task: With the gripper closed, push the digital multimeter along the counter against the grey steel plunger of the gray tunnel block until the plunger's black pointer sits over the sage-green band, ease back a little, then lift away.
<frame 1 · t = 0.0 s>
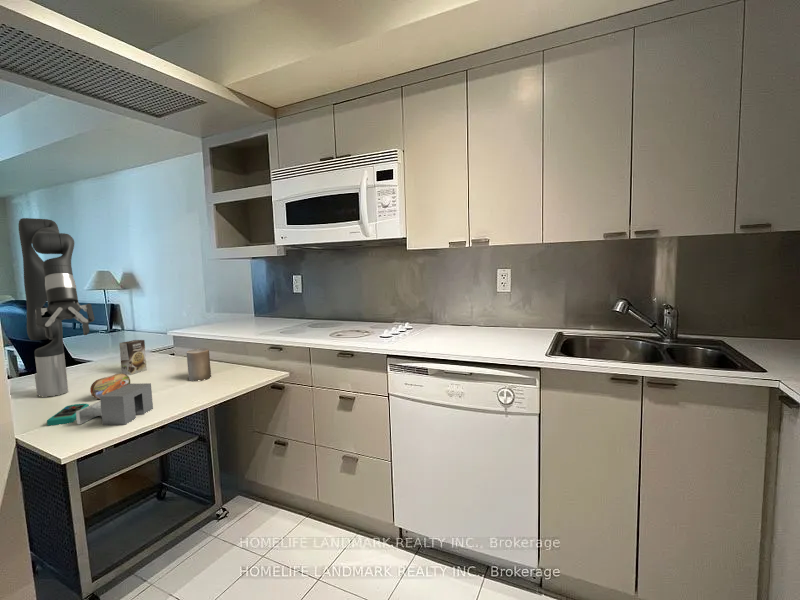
hand: (68, 336, 124), 31 cm above the countertop, tool tilted 20°, fingers open, 8 cm apart
gray tunnel block: (129, 416, 138), on the countertop
digital multimeter: (69, 418, 139), on the countertop
food box: (134, 372, 197), on the countertop
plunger: (118, 406, 141), point 2 cm above the countertop, slide at 0.0 cm
pillar candle: (199, 378, 183), on the countertop
tin: (111, 395, 161), on the countertop
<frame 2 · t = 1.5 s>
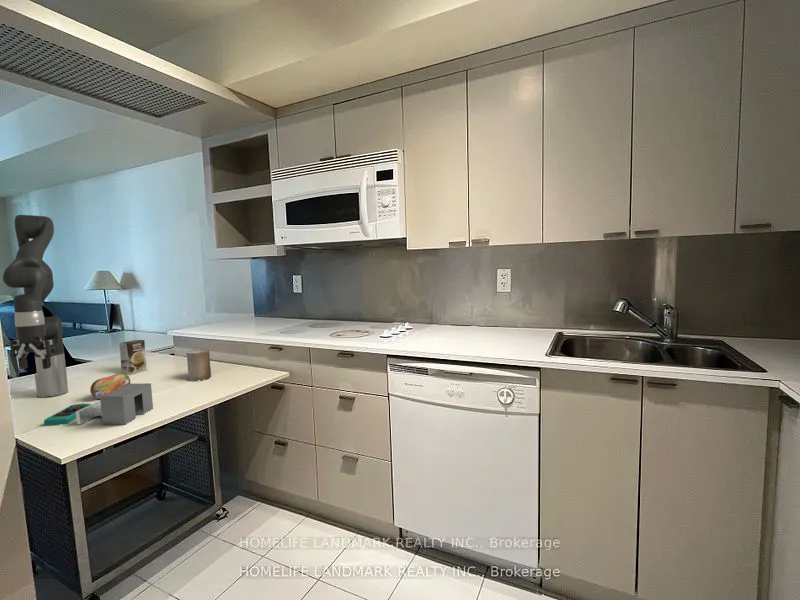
hand: (35, 368, 137), 18 cm above the countertop, tool pointing down, fingers open, 8 cm apart
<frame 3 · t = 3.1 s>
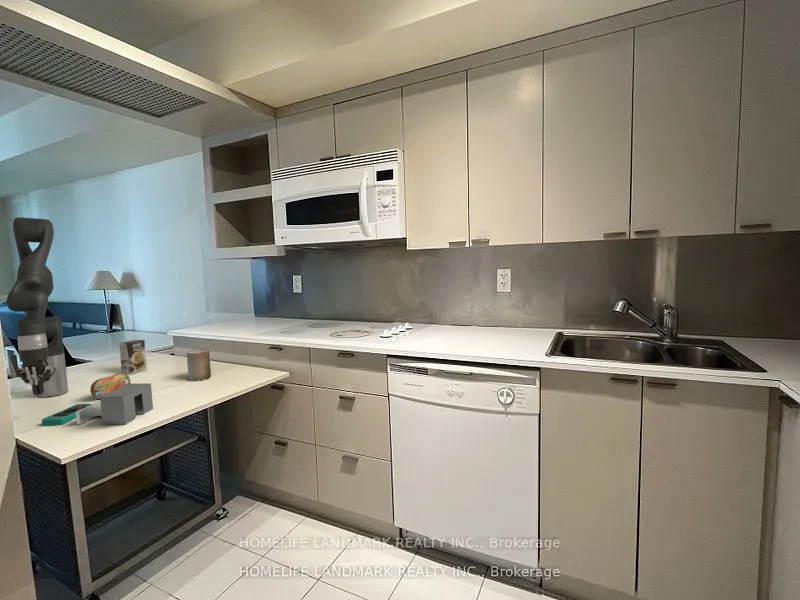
hand: (38, 394, 138), 9 cm above the countertop, tool pointing down, fingers closed
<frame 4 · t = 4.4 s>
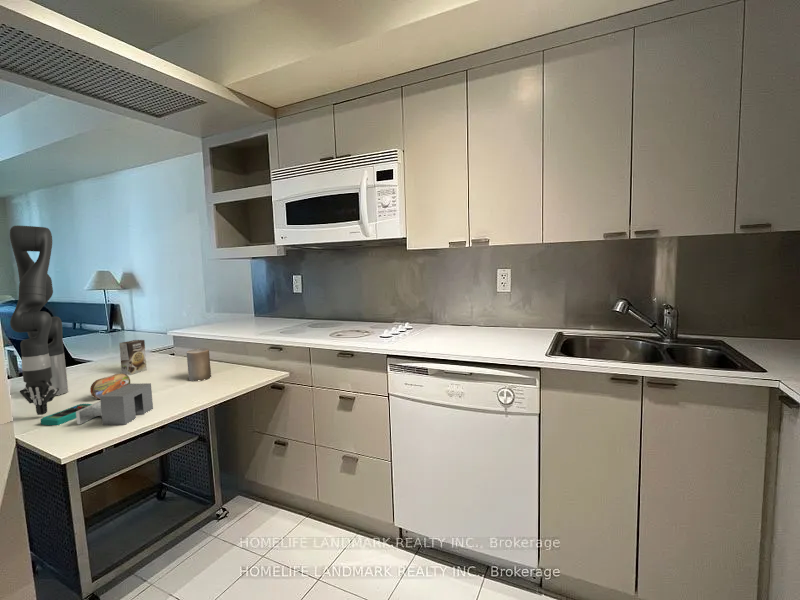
hand: (42, 413, 139), 1 cm above the countertop, tool pointing down, fingers closed
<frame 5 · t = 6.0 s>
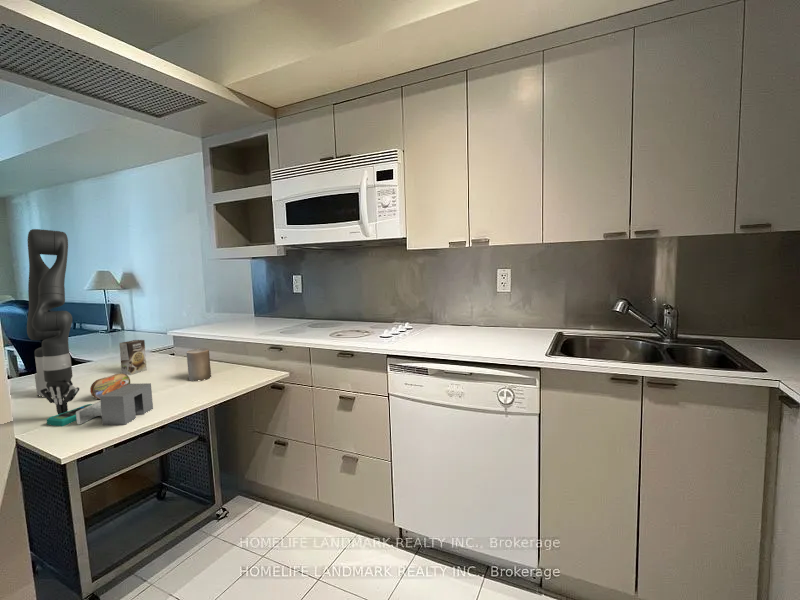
hand: (62, 413, 138), 1 cm above the countertop, tool pointing down, fingers closed
digital multimeter: (76, 419, 138), on the countertop
everything else where it was.
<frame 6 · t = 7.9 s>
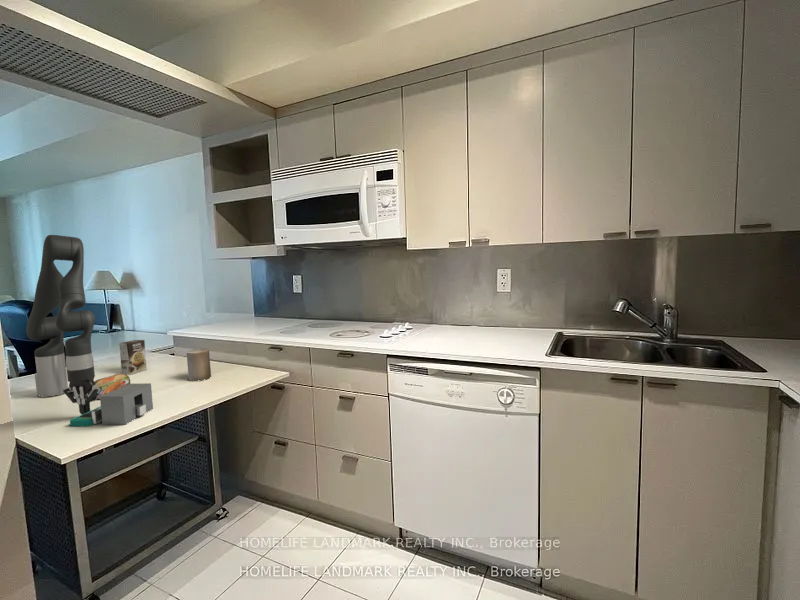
hand: (85, 413, 138), 1 cm above the countertop, tool pointing down, fingers closed
digital multimeter: (97, 419, 137), on the countertop
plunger: (132, 406, 141), point 2 cm above the countertop, slide at 5.5 cm
everything else where it was.
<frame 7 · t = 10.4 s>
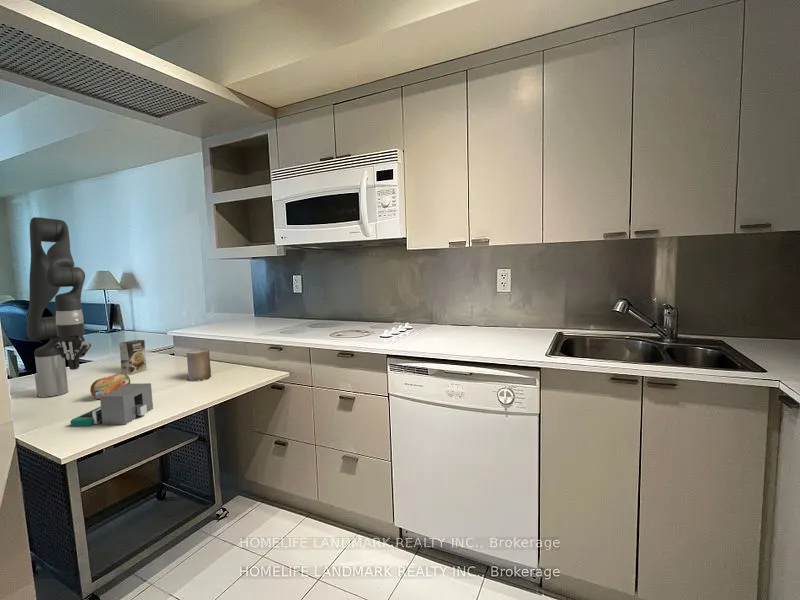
hand: (74, 369, 140), 17 cm above the countertop, tool pointing down, fingers closed
nothing on the countertop moved.
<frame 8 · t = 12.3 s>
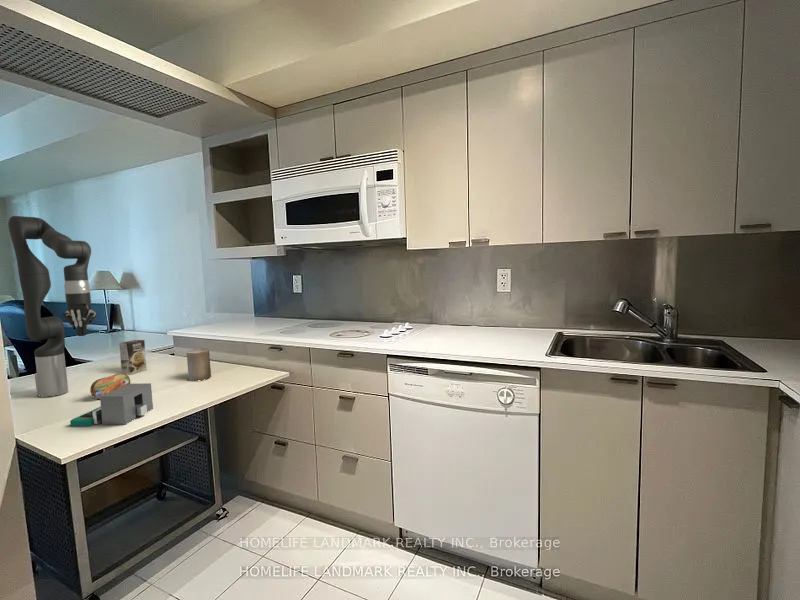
hand: (82, 335, 151), 27 cm above the countertop, tool pointing down, fingers closed
nothing on the countertop moved.
at the end: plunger slide at 5.9 cm; digital multimeter moved 11.5 cm from its start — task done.
